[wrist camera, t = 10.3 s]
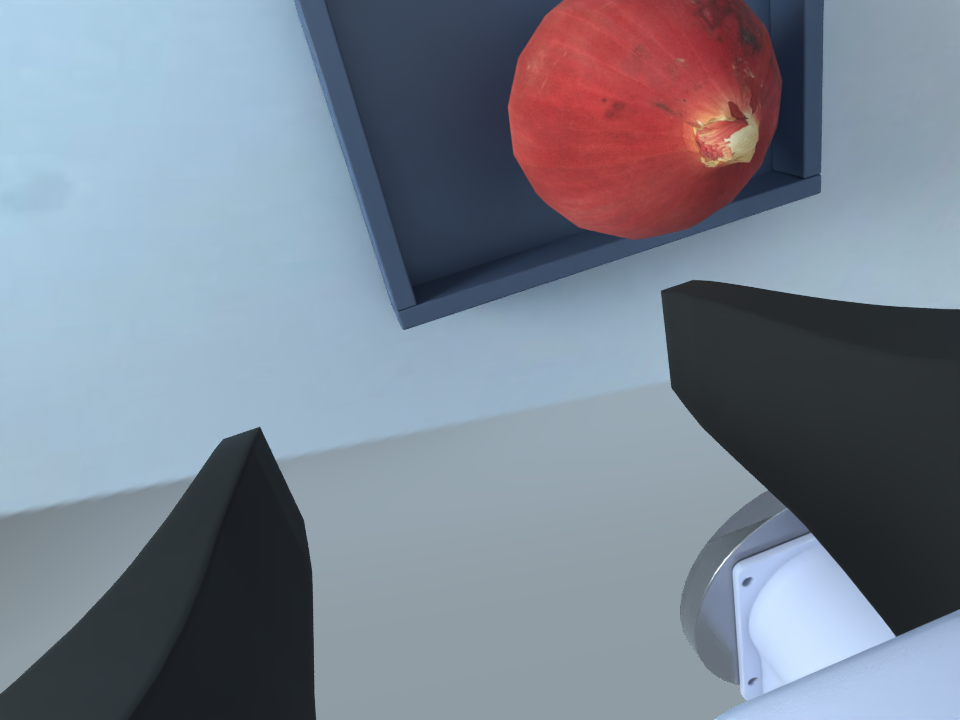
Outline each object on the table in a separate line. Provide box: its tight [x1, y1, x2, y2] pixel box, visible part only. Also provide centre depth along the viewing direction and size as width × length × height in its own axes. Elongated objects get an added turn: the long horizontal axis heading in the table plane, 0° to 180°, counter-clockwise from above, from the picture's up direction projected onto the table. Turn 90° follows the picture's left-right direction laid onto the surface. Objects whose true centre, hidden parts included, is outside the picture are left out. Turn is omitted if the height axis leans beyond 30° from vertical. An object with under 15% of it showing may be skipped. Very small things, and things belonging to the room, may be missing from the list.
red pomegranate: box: [508, 0, 782, 240], centre depth 15 cm, size 6×6×8 cm
